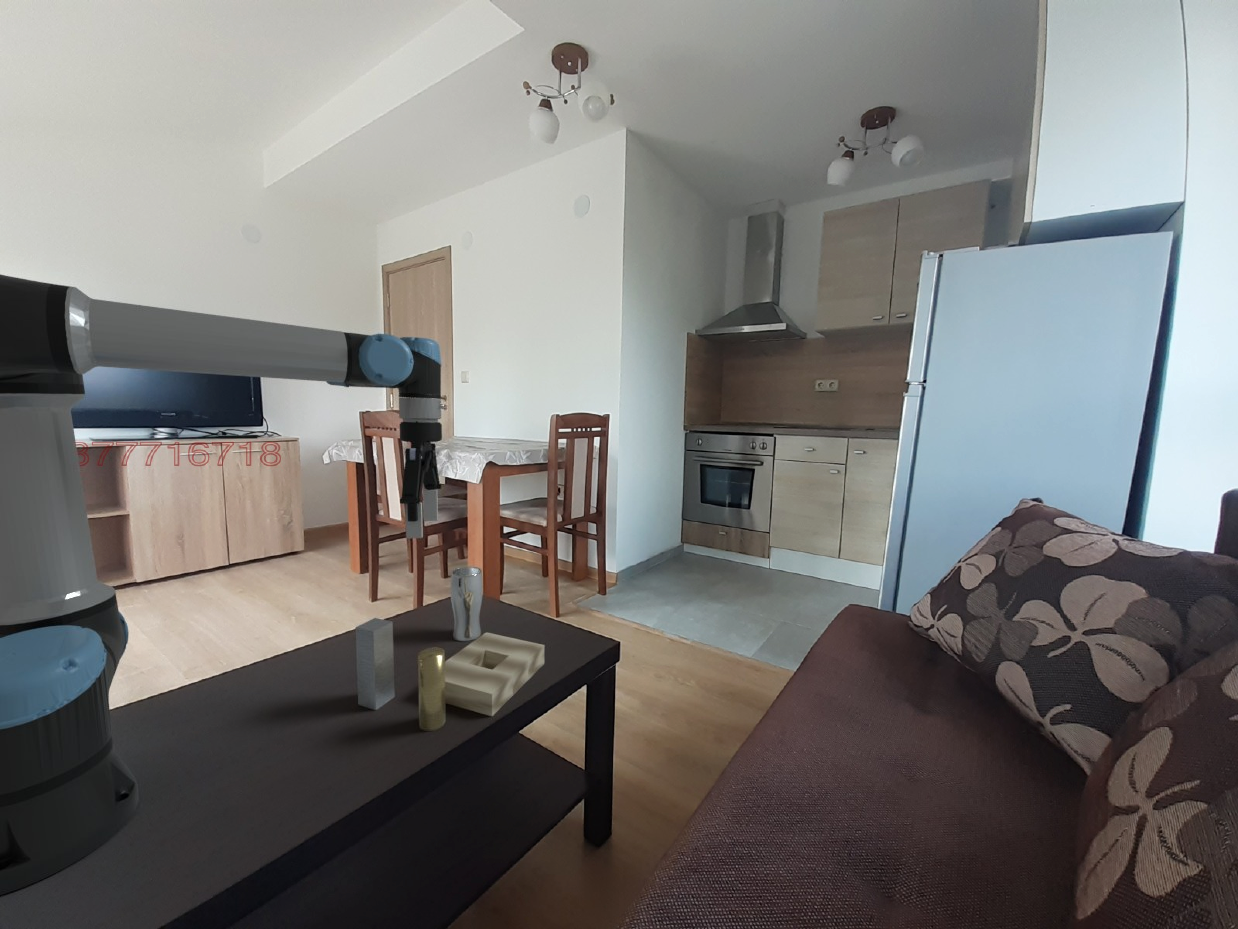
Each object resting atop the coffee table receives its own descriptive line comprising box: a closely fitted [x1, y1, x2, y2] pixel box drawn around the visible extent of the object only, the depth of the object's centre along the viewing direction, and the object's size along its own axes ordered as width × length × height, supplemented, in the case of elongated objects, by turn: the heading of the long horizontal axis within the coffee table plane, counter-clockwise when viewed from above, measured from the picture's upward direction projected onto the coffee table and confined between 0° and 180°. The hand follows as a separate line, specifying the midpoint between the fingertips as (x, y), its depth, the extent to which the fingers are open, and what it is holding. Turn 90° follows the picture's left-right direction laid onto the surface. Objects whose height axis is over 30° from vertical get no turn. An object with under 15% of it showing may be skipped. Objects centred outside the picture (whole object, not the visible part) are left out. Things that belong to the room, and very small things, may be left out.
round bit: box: [417, 646, 446, 732], centre depth 76 cm, size 4×4×12 cm
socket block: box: [445, 632, 545, 717], centre depth 90 cm, size 18×14×4 cm
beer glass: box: [449, 566, 484, 642], centre depth 106 cm, size 7×7×15 cm
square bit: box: [355, 617, 396, 711], centre depth 82 cm, size 4×4×14 cm
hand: (423, 528), depth 93 cm, fingers open, 13 cm apart
